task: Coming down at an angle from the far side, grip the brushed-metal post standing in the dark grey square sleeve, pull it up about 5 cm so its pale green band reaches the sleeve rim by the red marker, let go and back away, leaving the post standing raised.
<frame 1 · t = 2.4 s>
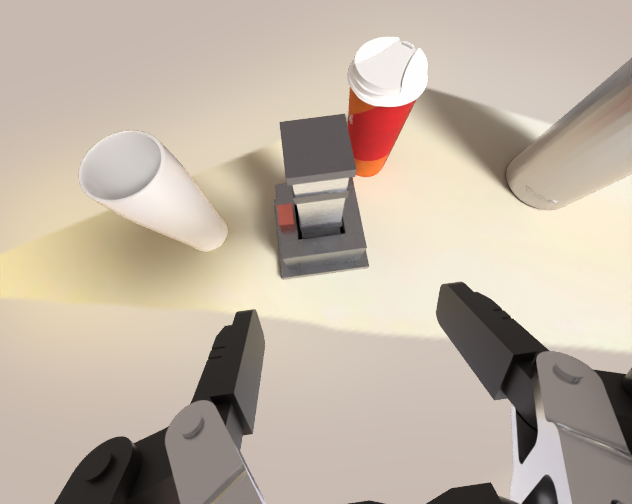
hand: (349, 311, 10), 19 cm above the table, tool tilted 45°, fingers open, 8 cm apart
drinking glass: (210, 234, 33), on the table
sleeve: (319, 234, 32), on the table
column: (318, 203, 24), point 9 cm above the table, slide at 0.0 cm
paper cup: (364, 162, 35), on the table
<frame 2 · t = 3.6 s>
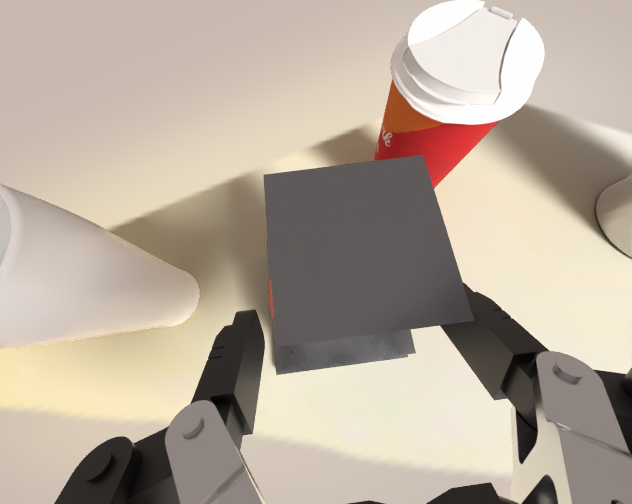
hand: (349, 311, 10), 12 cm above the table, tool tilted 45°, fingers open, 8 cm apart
drinking glass: (176, 298, 23), on the table
sleeve: (332, 300, 22), on the table
column: (337, 286, 14), point 9 cm above the table, slide at 0.0 cm
paper cup: (393, 192, 26), on the table
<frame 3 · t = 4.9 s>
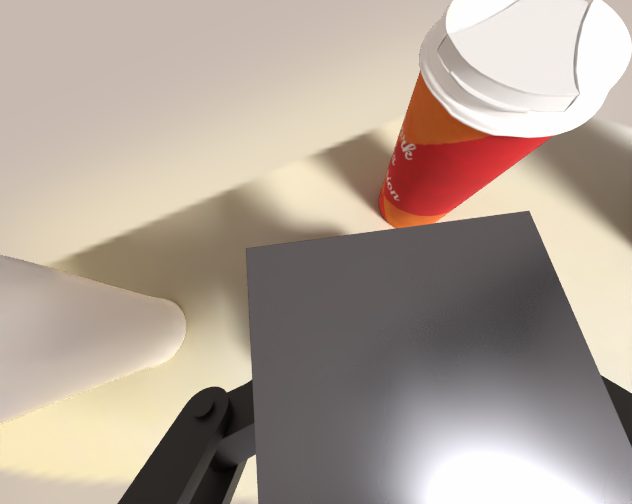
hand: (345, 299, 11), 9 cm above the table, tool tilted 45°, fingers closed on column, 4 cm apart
drinking glass: (159, 331, 20), on the table
column: (351, 341, 11), point 9 cm above the table, slide at 0.0 cm, touching gripper
paper cup: (406, 206, 23), on the table
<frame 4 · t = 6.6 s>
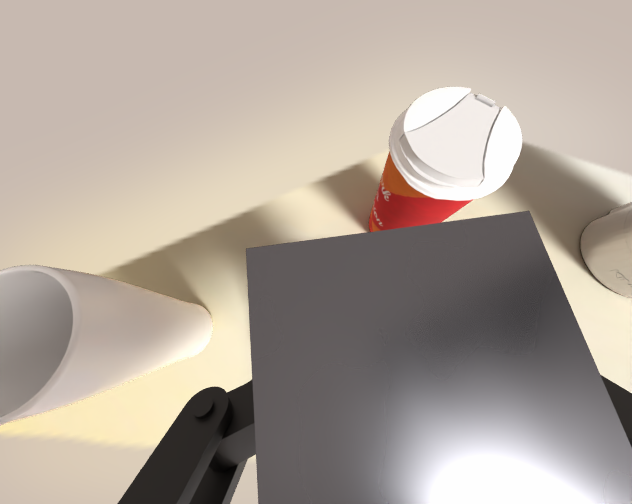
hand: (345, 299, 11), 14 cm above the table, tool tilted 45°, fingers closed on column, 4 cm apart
drinking glass: (190, 329, 25), on the table
column: (351, 341, 11), point 13 cm above the table, slide at 4.9 cm, touching gripper
paper cup: (392, 226, 27), on the table
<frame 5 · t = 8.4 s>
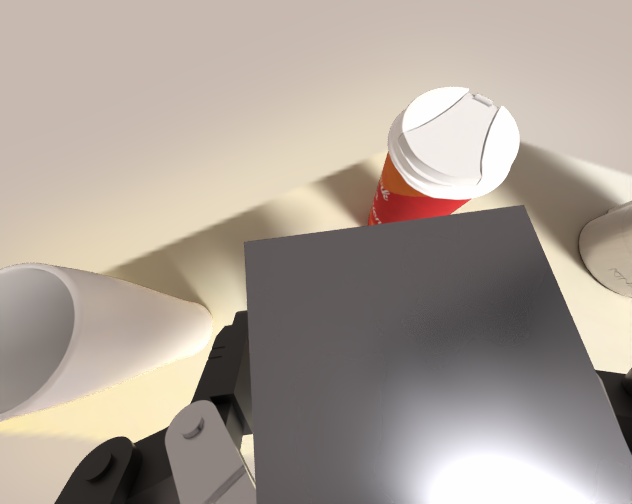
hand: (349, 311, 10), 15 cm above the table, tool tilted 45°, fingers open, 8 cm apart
drinking glass: (190, 328, 25), on the table
column: (350, 339, 11), point 14 cm above the table, slide at 5.0 cm
paper cup: (391, 225, 27), on the table
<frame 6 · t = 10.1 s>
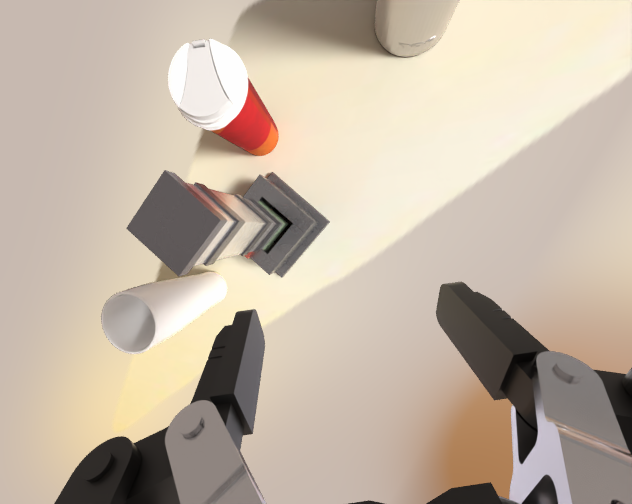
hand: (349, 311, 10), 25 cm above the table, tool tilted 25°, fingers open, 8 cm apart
drinking glass: (214, 286, 39), on the table
sleeve: (279, 225, 36), on the table
column: (236, 225, 23), point 14 cm above the table, slide at 5.0 cm
paper cup: (261, 137, 35), on the table
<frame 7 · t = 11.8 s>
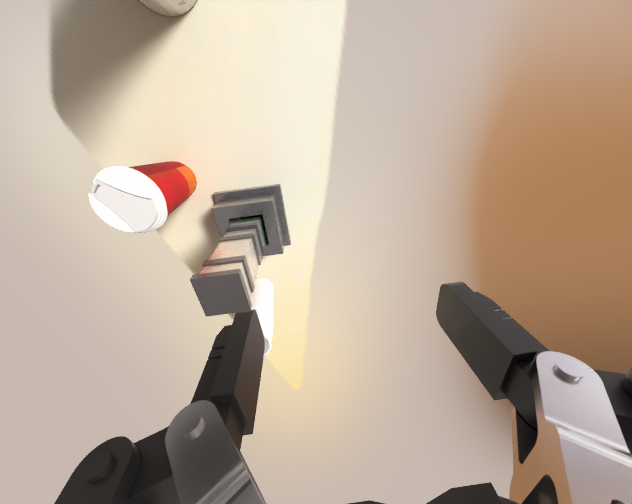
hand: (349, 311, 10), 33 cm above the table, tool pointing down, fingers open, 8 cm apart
drinking glass: (261, 286, 50), on the table
sleeve: (255, 219, 42), on the table
column: (239, 255, 30), point 14 cm above the table, slide at 5.0 cm
paper cup: (179, 179, 39), on the table
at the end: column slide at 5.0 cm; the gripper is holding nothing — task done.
